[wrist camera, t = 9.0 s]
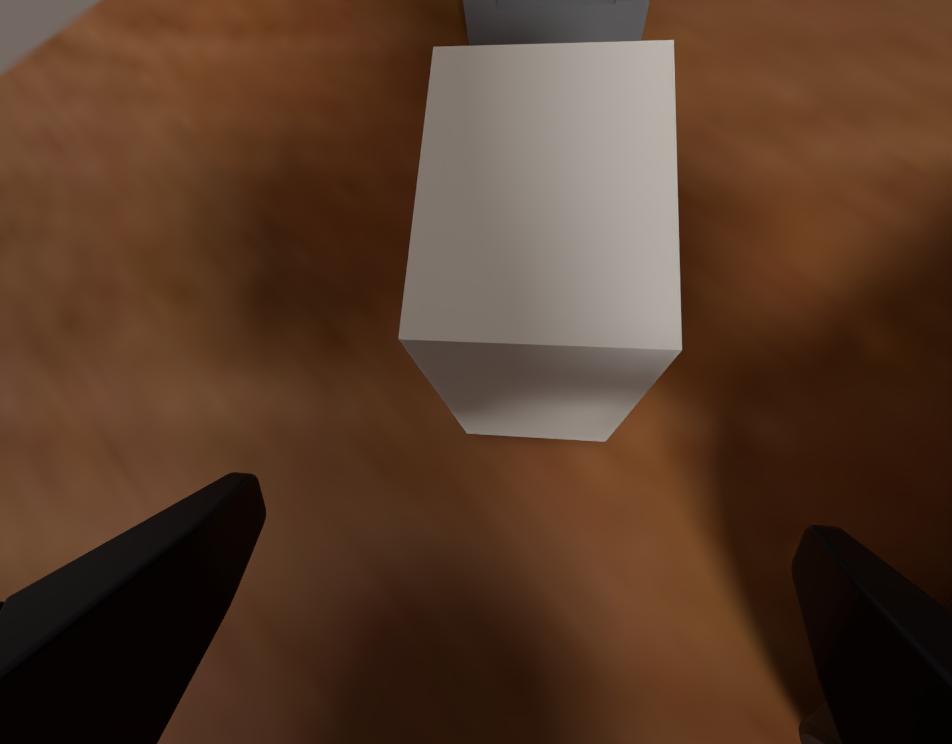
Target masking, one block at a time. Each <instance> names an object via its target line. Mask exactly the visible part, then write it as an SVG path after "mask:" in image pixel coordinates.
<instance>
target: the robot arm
mask: <svg viewBox="0 0 952 744" xmlns="http://www.w3.org/2000/svg"><path fill="white" fill-rule="evenodd" d="M265 518H266V508H265V504H264V500H263V496H262V492H261V489H260V485H259V481H258V478H257V477H256V476H255V475H253V474H248V473H237V472H234V473H229V474H227V475H225V476H224V477H222V478H220V479H218V480H217V481H215V482H213V483H211V484H209V485H208V486H206V487H204V488H202V489H200V490H199V491H197V492H195V493H193V494H192V495H190V496H188V497H186V498H184V499H183V500H181V501H179V502H177V503H176V504H174V505H172V506H170V507H168V508H167V509H165V510H163V511H161V512H159V513H158V514H156V515H154V516H152V517H151V518H149V519H147V520H145V521H143V522H142V523H140V524H138V525H136V526H134V527H133V528H131V529H129V530H127V531H126V532H124V533H122V534H120V535H118V536H117V537H115V538H113V539H111V540H109V541H108V542H106V543H104V544H102V545H101V546H99V547H97V548H95V549H93V550H92V551H90V552H88V553H86V554H84V555H83V556H81V557H79V558H77V559H76V560H74V561H72V562H70V563H68V564H67V565H65V566H63V567H61V568H59V569H58V570H56V571H54V572H52V573H50V574H49V575H47V576H45V577H43V578H42V579H40V580H38V581H36V582H34V583H33V584H31V585H29V586H27V587H25V588H24V589H22V590H20V591H18V592H17V593H15V594H13V595H11V596H9V597H8V598H7V599H6V600H5V602H0V744H157V743H158V741H159V739H160V737H161V735H162V733H163V731H164V729H165V728H166V726H167V724H168V722H169V720H170V718H171V716H172V714H173V713H174V711H175V709H176V707H177V705H178V703H179V701H180V699H181V697H182V696H183V694H184V692H185V690H186V688H187V686H188V684H189V682H190V681H191V679H192V677H193V675H194V673H195V671H196V669H197V667H198V665H199V664H200V662H201V660H202V658H203V656H204V654H205V652H206V650H207V649H208V647H209V645H210V643H211V641H212V639H213V637H214V635H215V633H216V632H217V630H218V628H219V626H220V624H221V622H222V620H223V618H224V616H225V614H226V613H227V611H228V609H229V607H230V605H231V602H232V600H233V598H234V596H235V593H236V591H237V589H238V586H239V584H240V581H241V579H242V577H243V574H244V572H245V569H246V567H247V564H248V562H249V559H250V557H251V554H252V552H253V549H254V547H255V545H256V542H257V540H258V537H259V535H260V532H261V530H262V527H263V525H264V522H265ZM791 571H792V578H793V582H794V586H795V590H796V594H797V598H798V602H799V606H800V610H801V614H802V618H803V622H804V626H805V630H806V634H807V638H808V642H809V646H810V650H811V654H812V658H813V662H814V666H815V669H816V673H817V676H818V679H819V682H820V685H821V688H822V691H823V694H824V696H825V699H826V702H827V704H828V707H829V710H830V713H831V715H832V718H833V721H834V723H835V726H836V729H837V732H838V734H839V737H840V740H841V743H842V744H952V613H951V612H950V611H948V610H947V609H946V608H945V607H943V606H942V605H941V604H939V603H938V602H937V601H935V600H934V599H933V598H931V597H930V596H929V595H927V594H926V593H925V592H924V591H922V590H921V589H920V588H918V587H917V586H916V585H914V584H913V583H912V582H910V581H909V580H908V579H907V578H905V577H904V576H903V575H901V574H900V573H899V572H897V571H896V570H895V569H893V568H892V567H891V566H890V565H888V564H887V563H886V562H884V561H883V560H882V559H880V558H879V557H878V556H876V555H875V554H874V553H873V552H871V551H870V550H869V549H867V548H866V547H865V546H863V545H862V544H861V543H859V542H858V541H857V540H855V539H854V538H853V537H852V536H850V535H849V534H848V533H846V532H845V531H844V530H842V529H840V528H838V527H834V526H824V525H809V526H808V527H807V528H806V529H805V531H804V533H803V535H802V538H801V540H800V543H799V545H798V548H797V550H796V553H795V555H794V558H793V561H792V567H791Z"/></svg>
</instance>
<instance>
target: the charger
mask: <svg viewBox="0 0 952 744" xmlns="http://www.w3.org/2000/svg"><path fill="white" fill-rule="evenodd" d="M398 340H399V341H400V342H401V344H402V345H403V347H404V348H405V349H406V351H407V352H408V353H409V355H410V356H411V358H412V359H413V360H414V362H415V363H416V364H417V366H418V367H419V368H420V370H421V371H422V373H423V374H424V375H425V377H426V378H427V379H428V381H429V382H430V384H431V385H432V386H433V388H434V389H435V390H436V392H437V393H438V394H439V396H440V397H441V399H442V400H443V401H444V403H445V404H446V405H447V407H448V408H449V410H450V411H451V412H452V414H453V415H454V416H455V418H456V419H457V420H458V422H459V423H460V425H461V426H462V427H463V429H464V430H465V431H466V433H467V434H482V435H499V436H516V437H533V438H550V439H567V440H584V441H601V442H605V441H606V440H607V439H608V438H609V437H610V436H611V434H612V433H613V432H614V431H615V430H616V428H617V427H618V426H619V425H620V424H621V422H622V421H623V420H624V419H625V418H626V416H627V415H628V414H629V413H630V412H631V410H632V409H633V408H634V407H635V406H636V405H637V403H638V402H639V401H640V400H641V399H642V397H643V396H644V395H645V394H646V393H647V391H648V390H649V389H650V388H651V387H652V385H653V384H654V383H655V382H656V381H657V379H658V378H659V377H660V376H661V375H662V374H663V372H664V371H665V370H666V369H667V368H668V366H669V365H670V364H671V363H672V362H673V360H674V359H675V358H676V357H677V356H678V354H679V353H680V352H681V351H682V329H681V292H680V255H679V218H678V181H677V143H676V106H675V69H674V40H656V41H620V42H585V43H549V44H513V45H477V46H441V47H433V54H432V62H431V70H430V79H429V87H428V95H427V104H426V112H425V120H424V128H423V137H422V145H421V153H420V162H419V170H418V178H417V187H416V195H415V203H414V212H413V220H412V228H411V237H410V245H409V253H408V262H407V270H406V278H405V287H404V295H403V303H402V312H401V320H400V328H399V337H398Z"/></svg>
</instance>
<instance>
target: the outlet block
mask: <svg viewBox="0 0 952 744" xmlns="http://www.w3.org/2000/svg"><path fill="white" fill-rule="evenodd" d="M649 2H650V0H463V5H464V13H465V20H466V27H467V35H468V42H469V46H477V45H513V44H549V43H585V42H620V41H641V39H642V34H643V30H644V25H645V20H646V16H647V11H648V7H649Z"/></svg>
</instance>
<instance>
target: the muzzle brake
mask: <svg viewBox="0 0 952 744" xmlns="http://www.w3.org/2000/svg"><path fill="white" fill-rule="evenodd" d="M942 606H943V607H945V608H946V609H947V610H948V611H950V612H951V613H952V598H951V599H950V600H948V601H947V602H946V603H945V604H943V605H942ZM799 735H800V740H801V743H802V744H842V743H841V740H840V737H839V734H838V732H837V729H836V726H835V723H834V721H833V718H832V715H831V713H830V710H829V707H828V704H827V702H824V703H823V704H822V705H821V706H820V707H818V708H817V709H816V710H815V711H814V712H812V713H811V714H810V715H809V716H807V717H806V718H805V719H804V720H803V721H801V723H800V726H799Z"/></svg>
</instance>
